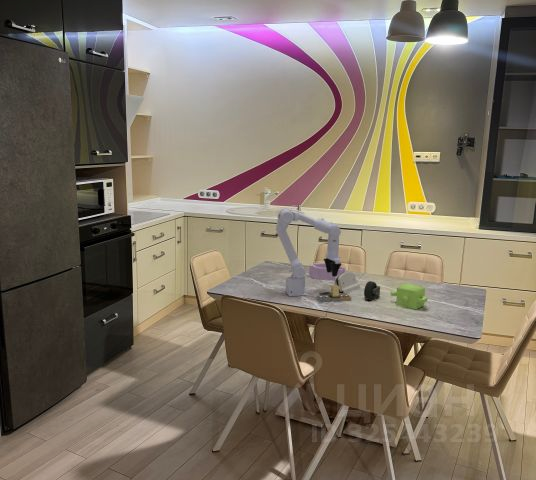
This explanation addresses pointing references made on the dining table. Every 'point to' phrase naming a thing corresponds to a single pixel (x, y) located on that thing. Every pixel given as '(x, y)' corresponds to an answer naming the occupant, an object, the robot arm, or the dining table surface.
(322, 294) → the gray square frame
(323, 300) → the chain end left
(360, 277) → the dining table surface
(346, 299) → the chain end right
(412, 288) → the gearbox
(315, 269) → the purple oblong basket
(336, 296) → the pin
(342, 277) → the off-white striped device
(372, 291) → the caster wheel
